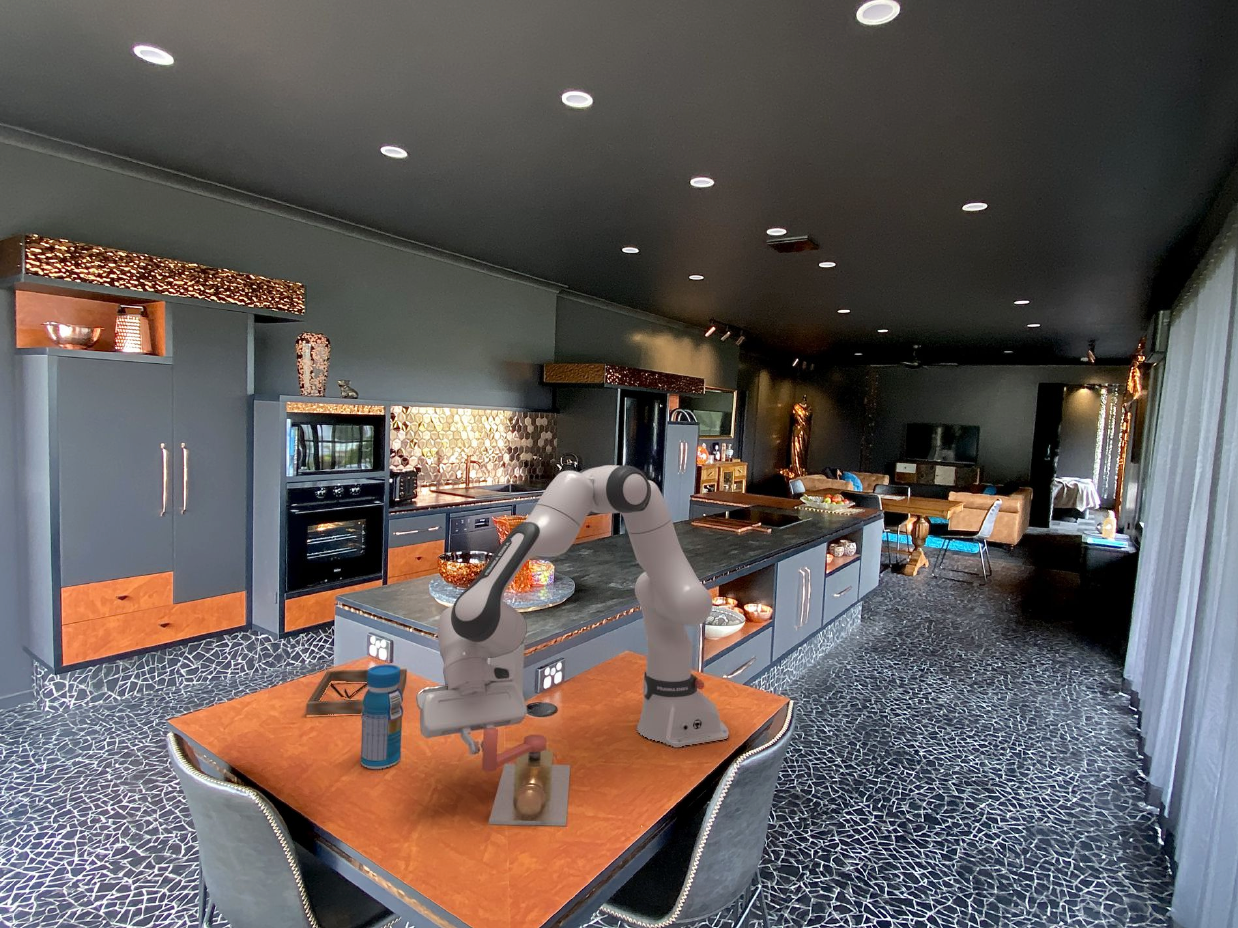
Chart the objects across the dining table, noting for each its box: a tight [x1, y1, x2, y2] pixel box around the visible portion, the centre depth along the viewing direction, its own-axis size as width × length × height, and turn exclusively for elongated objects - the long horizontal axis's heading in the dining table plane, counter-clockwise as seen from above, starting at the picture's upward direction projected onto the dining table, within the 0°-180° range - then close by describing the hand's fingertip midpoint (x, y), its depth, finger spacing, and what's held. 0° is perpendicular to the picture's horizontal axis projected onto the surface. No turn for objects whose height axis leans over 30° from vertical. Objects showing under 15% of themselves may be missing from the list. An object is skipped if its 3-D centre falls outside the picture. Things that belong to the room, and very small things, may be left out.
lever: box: [481, 727, 547, 773], centre depth 130 cm, size 16×4×7 cm, turn 143°
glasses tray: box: [305, 668, 408, 716], centre depth 180 cm, size 21×24×4 cm
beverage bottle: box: [360, 664, 404, 770], centre depth 145 cm, size 8×8×20 cm
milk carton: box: [489, 640, 525, 695], centre depth 182 cm, size 7×7×19 cm
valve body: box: [488, 747, 571, 827], centre depth 134 cm, size 22×14×9 cm, turn 2°
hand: (481, 751), depth 126 cm, fingers closed
